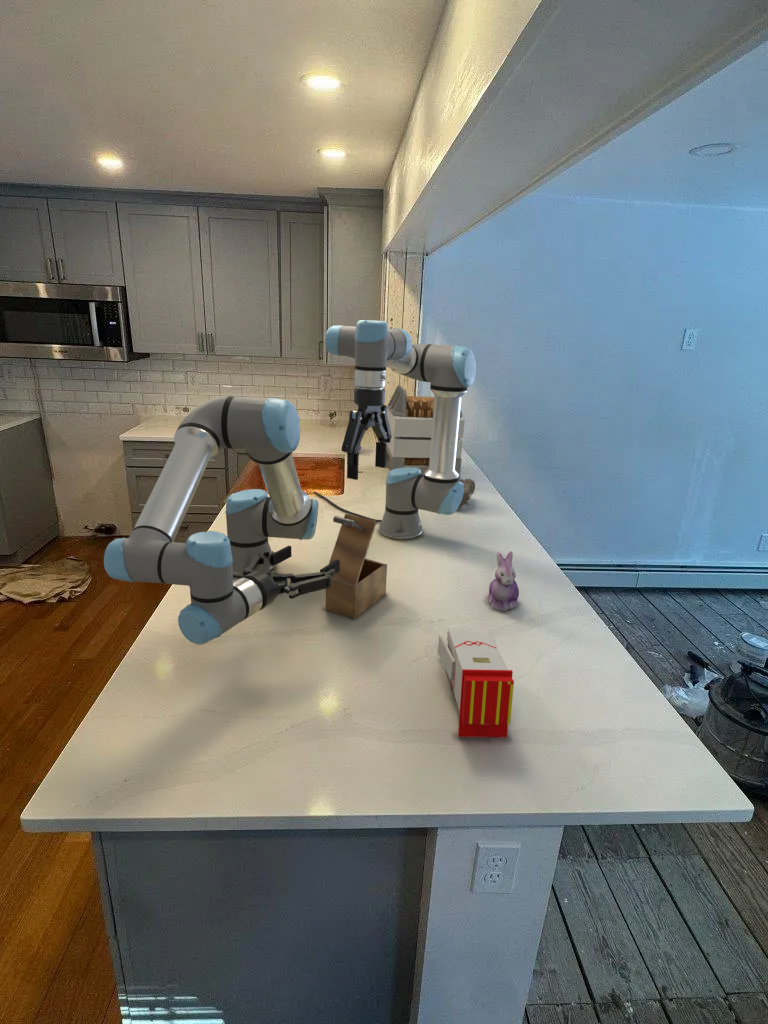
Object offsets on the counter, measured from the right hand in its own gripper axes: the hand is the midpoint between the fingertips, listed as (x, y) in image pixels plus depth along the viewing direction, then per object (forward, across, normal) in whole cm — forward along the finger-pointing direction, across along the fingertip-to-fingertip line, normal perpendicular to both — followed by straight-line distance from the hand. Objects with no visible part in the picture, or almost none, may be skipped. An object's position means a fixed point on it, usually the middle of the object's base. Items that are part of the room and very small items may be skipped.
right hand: (366, 472), depth 144 cm
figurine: (+35, +18, -34) cm, 52 cm away
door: (+19, -6, 0) cm, 20 cm away
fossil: (+35, +90, +9) cm, 97 cm away
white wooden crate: (+35, +121, +42) cm, 133 cm away
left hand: (+15, -23, 0) cm, 27 cm away
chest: (+35, -3, 0) cm, 35 cm away
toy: (+35, -23, -40) cm, 58 cm away
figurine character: (+35, +138, +90) cm, 168 cm away
